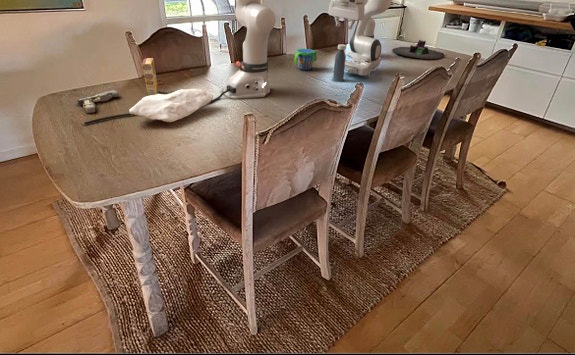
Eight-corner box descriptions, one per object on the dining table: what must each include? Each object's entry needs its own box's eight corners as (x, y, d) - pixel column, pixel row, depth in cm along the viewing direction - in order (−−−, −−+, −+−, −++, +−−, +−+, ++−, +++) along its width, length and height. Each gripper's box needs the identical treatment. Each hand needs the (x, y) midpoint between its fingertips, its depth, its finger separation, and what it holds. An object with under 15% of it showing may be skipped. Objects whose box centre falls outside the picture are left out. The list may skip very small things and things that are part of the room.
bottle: (340, 78, 198) (344, 44, 189) (344, 81, 194) (348, 47, 184) (331, 78, 197) (334, 44, 188) (335, 81, 193) (338, 47, 183)
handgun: (128, 97, 156) (111, 87, 164) (86, 107, 144) (70, 97, 152) (129, 103, 157) (113, 94, 165) (88, 114, 146) (72, 103, 154)
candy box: (157, 97, 164) (152, 63, 155) (147, 98, 163) (141, 63, 155) (158, 91, 171) (153, 57, 163) (149, 91, 170) (143, 58, 162)
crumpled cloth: (117, 110, 146) (113, 90, 140) (195, 92, 166) (194, 73, 160) (143, 139, 134) (140, 118, 128) (223, 116, 154) (224, 96, 148)
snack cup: (310, 64, 218) (311, 47, 212) (321, 69, 211) (322, 51, 205) (288, 68, 210) (289, 50, 205) (299, 73, 203) (300, 54, 198)
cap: (343, 47, 189) (344, 44, 188) (346, 49, 186) (347, 46, 185) (336, 47, 188) (336, 44, 187) (339, 49, 185) (339, 46, 184)
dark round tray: (454, 55, 249) (457, 41, 244) (422, 61, 231) (424, 46, 227) (413, 47, 273) (415, 35, 269) (381, 52, 256) (382, 39, 252)
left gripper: (327, -6, 178) (324, 24, 186) (359, -1, 166) (355, 31, 173) (335, -6, 182) (332, 23, 190) (368, -1, 169) (363, 30, 177)
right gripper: (344, 55, 207) (328, 59, 199) (374, 63, 194) (358, 67, 186) (343, 66, 210) (327, 70, 202) (372, 75, 198) (356, 79, 190)
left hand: (343, 27), depth 181 cm, fingers open, 6 cm apart
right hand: (342, 69), depth 194 cm, fingers open, 8 cm apart
